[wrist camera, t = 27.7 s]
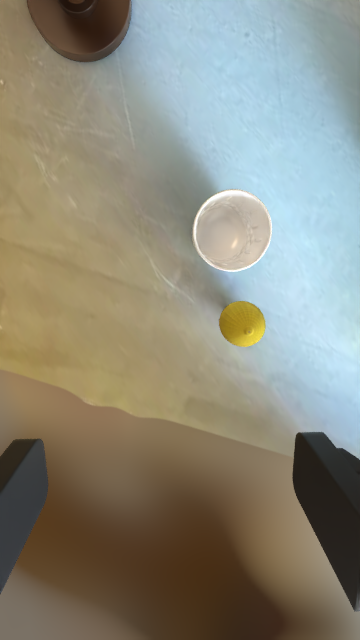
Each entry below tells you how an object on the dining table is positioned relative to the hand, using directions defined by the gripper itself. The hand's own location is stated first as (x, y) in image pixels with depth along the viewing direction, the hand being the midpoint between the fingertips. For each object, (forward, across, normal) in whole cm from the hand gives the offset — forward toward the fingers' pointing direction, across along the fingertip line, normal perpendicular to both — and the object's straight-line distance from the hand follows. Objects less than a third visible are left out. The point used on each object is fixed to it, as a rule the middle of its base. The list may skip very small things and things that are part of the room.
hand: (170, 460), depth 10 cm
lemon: (+34, -9, +3) cm, 35 cm away
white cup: (+34, -6, -8) cm, 36 cm away
